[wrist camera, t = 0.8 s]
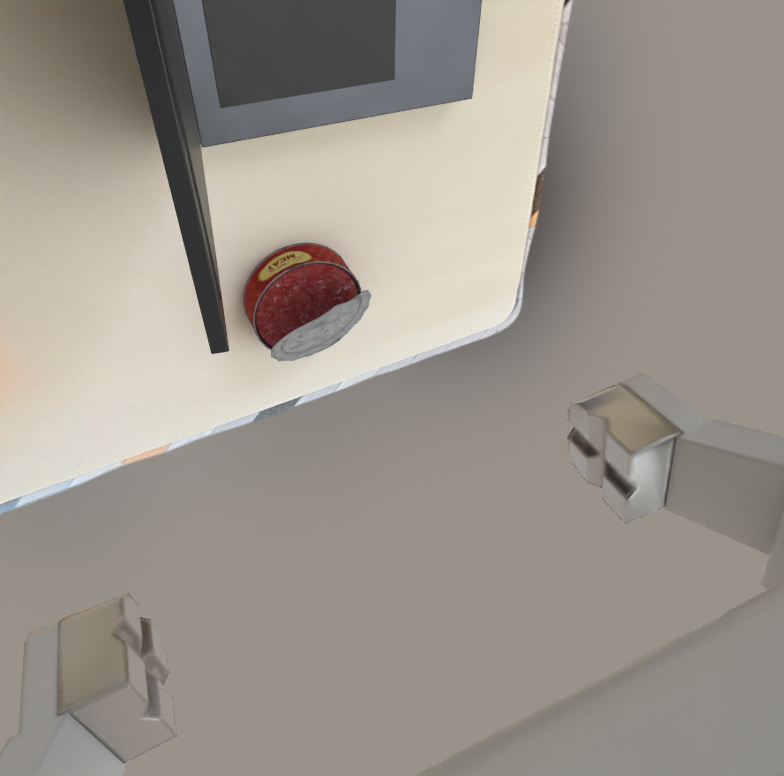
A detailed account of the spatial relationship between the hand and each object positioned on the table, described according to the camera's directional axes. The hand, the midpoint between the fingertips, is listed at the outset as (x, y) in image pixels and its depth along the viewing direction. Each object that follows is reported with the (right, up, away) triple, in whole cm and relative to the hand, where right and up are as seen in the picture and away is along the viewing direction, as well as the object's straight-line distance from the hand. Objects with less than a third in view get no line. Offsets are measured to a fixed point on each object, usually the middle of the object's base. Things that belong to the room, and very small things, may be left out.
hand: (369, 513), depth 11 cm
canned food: (-8, +11, +46) cm, 48 cm away
